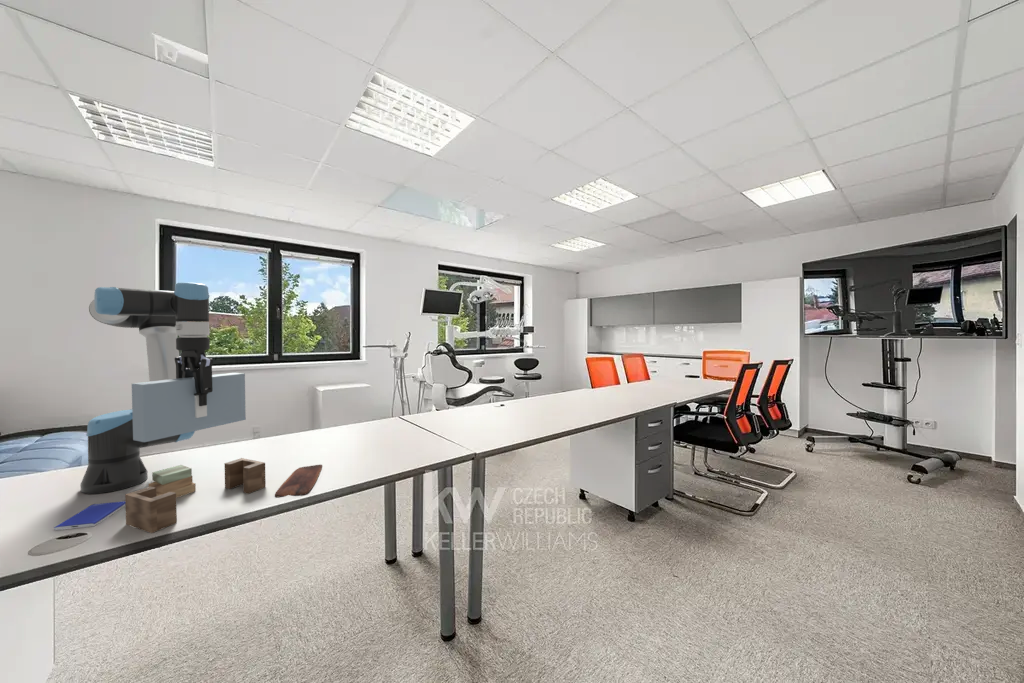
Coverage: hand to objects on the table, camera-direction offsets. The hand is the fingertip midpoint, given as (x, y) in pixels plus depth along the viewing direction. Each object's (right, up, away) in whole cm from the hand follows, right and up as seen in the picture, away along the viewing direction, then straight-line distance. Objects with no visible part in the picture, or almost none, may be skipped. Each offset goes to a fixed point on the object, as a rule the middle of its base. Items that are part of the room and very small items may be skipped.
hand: (194, 415), depth 112 cm
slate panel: (0, -4, 0) cm, 4 cm away
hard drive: (-21, -27, -8) cm, 35 cm away
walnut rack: (+3, -26, 0) cm, 26 cm away
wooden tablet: (+22, -26, +18) cm, 38 cm away
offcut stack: (-11, -25, +5) cm, 28 cm away
